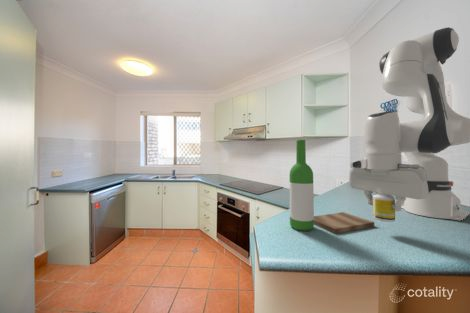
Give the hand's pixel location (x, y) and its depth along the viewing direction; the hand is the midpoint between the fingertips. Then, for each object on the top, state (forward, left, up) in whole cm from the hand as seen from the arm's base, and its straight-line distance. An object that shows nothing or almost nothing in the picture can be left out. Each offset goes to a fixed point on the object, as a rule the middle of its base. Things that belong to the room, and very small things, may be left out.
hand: (383, 207), depth 57 cm
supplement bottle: (0, 0, -4) cm, 4 cm away
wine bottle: (+21, -13, -8) cm, 26 cm away
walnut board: (+6, -11, -8) cm, 15 cm away
